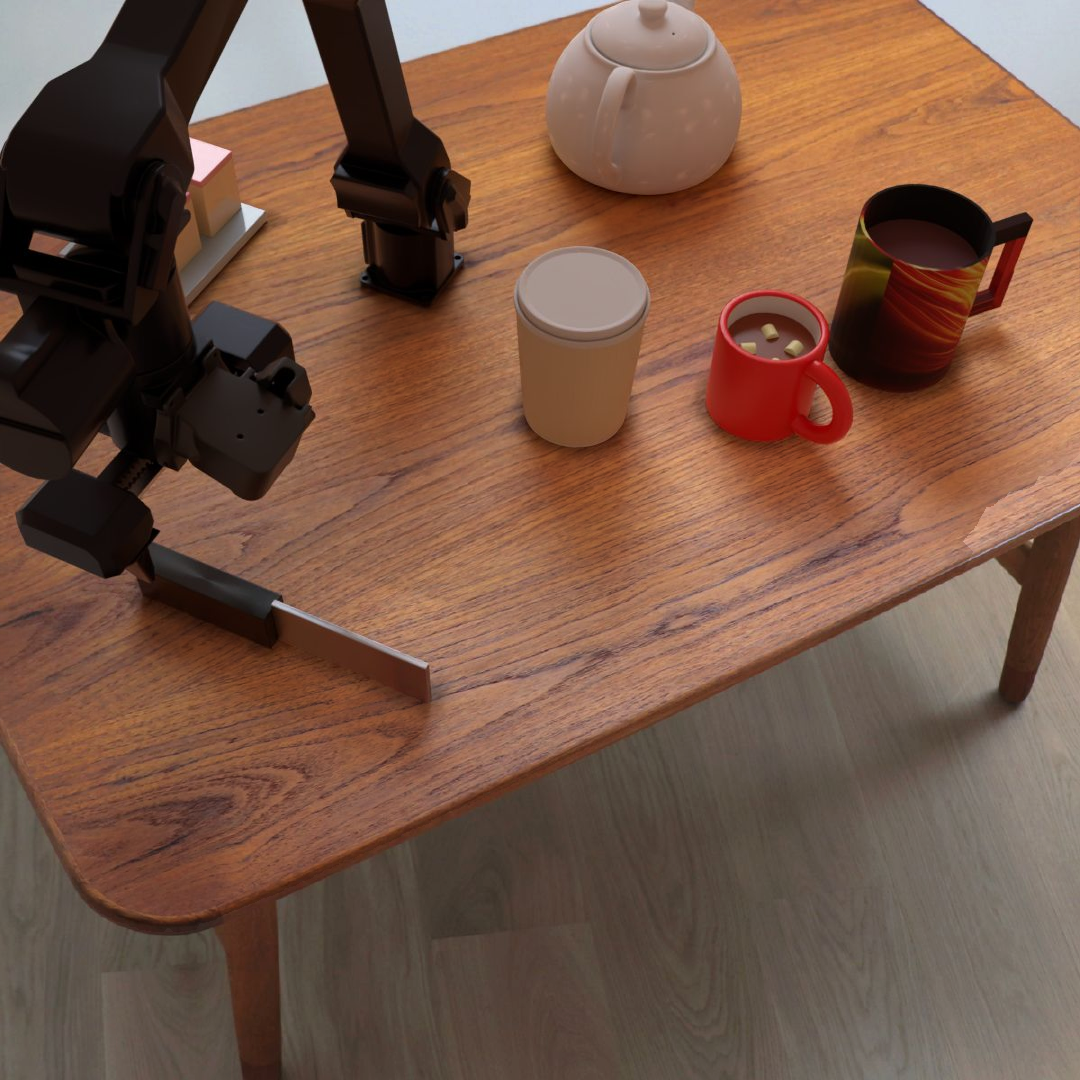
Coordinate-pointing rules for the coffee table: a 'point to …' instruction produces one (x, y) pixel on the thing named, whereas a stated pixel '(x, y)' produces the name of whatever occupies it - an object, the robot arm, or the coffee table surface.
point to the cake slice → (187, 239)
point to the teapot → (644, 99)
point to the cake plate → (215, 250)
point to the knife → (276, 621)
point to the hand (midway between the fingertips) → (190, 524)
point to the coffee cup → (579, 342)
